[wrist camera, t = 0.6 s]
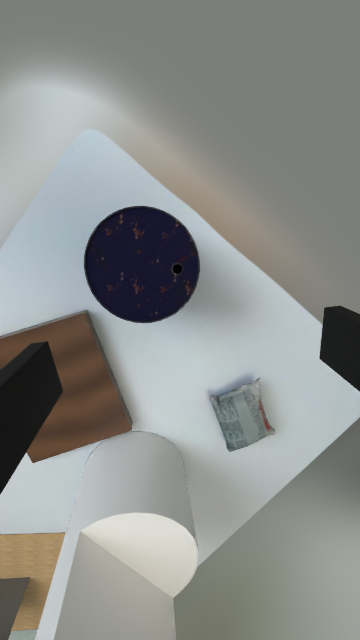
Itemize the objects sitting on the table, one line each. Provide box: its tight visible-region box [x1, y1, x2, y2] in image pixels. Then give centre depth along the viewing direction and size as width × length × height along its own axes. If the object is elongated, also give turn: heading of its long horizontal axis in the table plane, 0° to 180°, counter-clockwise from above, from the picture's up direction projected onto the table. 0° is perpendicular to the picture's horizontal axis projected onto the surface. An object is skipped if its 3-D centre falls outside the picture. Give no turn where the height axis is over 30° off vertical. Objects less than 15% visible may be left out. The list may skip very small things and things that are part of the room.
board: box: [0, 310, 132, 463], centre depth 38 cm, size 20×16×2 cm
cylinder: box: [35, 431, 198, 640], centre depth 31 cm, size 17×17×28 cm
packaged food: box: [210, 378, 275, 452], centre depth 41 cm, size 9×12×5 cm
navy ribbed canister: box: [84, 206, 200, 323], centre depth 28 cm, size 10×10×15 cm
